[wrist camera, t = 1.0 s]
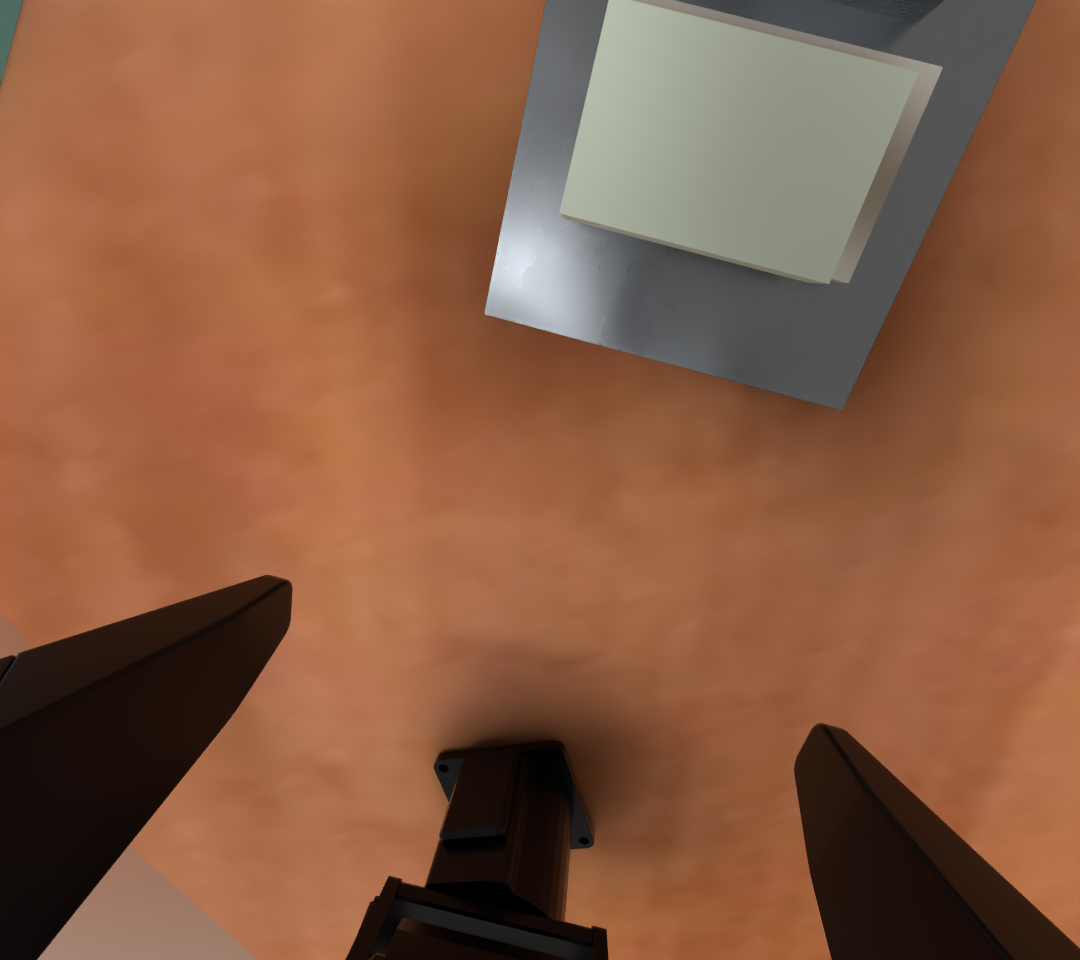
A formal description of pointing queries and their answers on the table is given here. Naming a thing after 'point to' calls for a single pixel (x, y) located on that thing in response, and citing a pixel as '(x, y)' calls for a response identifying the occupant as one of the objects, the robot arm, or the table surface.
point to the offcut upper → (729, 140)
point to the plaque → (7, 28)
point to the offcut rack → (719, 286)
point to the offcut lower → (897, 142)
